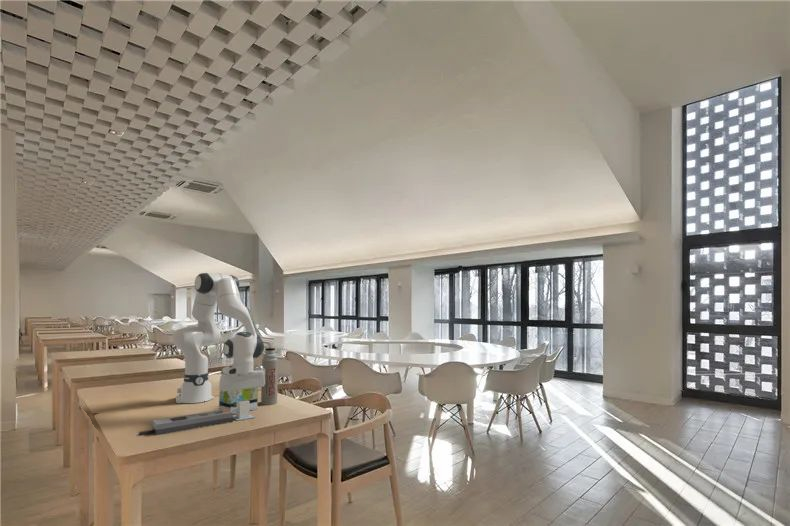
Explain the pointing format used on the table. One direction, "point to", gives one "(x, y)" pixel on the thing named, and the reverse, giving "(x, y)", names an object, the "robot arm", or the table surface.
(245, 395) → the tea box
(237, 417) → the felt pad
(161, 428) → the power strip
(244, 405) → the charger
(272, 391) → the thermos bottle
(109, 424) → the table surface
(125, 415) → the table surface
